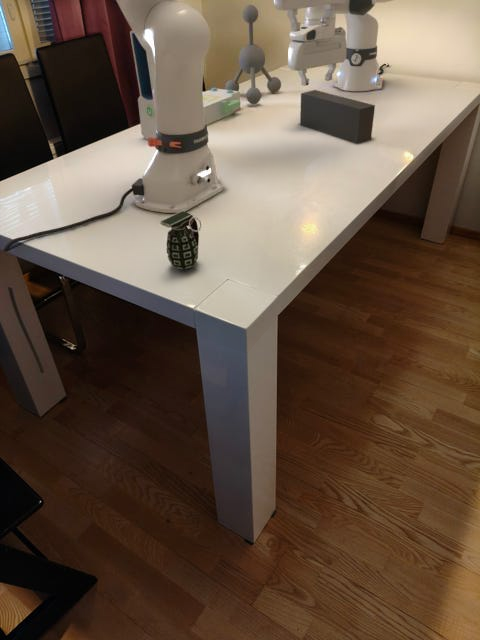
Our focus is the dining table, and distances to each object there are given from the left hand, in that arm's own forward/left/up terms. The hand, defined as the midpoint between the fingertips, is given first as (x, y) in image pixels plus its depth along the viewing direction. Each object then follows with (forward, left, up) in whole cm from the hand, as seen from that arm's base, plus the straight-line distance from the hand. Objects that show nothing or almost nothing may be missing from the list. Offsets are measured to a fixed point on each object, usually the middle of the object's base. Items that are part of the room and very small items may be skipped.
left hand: (310, 28), depth 118 cm
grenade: (-65, +1, -30) cm, 72 cm away
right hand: (+24, +6, -17) cm, 30 cm away
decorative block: (+24, +46, -30) cm, 60 cm away
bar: (+20, -2, -30) cm, 36 cm away
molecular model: (+53, +39, -30) cm, 72 cm away
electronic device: (-2, +47, -30) cm, 56 cm away
